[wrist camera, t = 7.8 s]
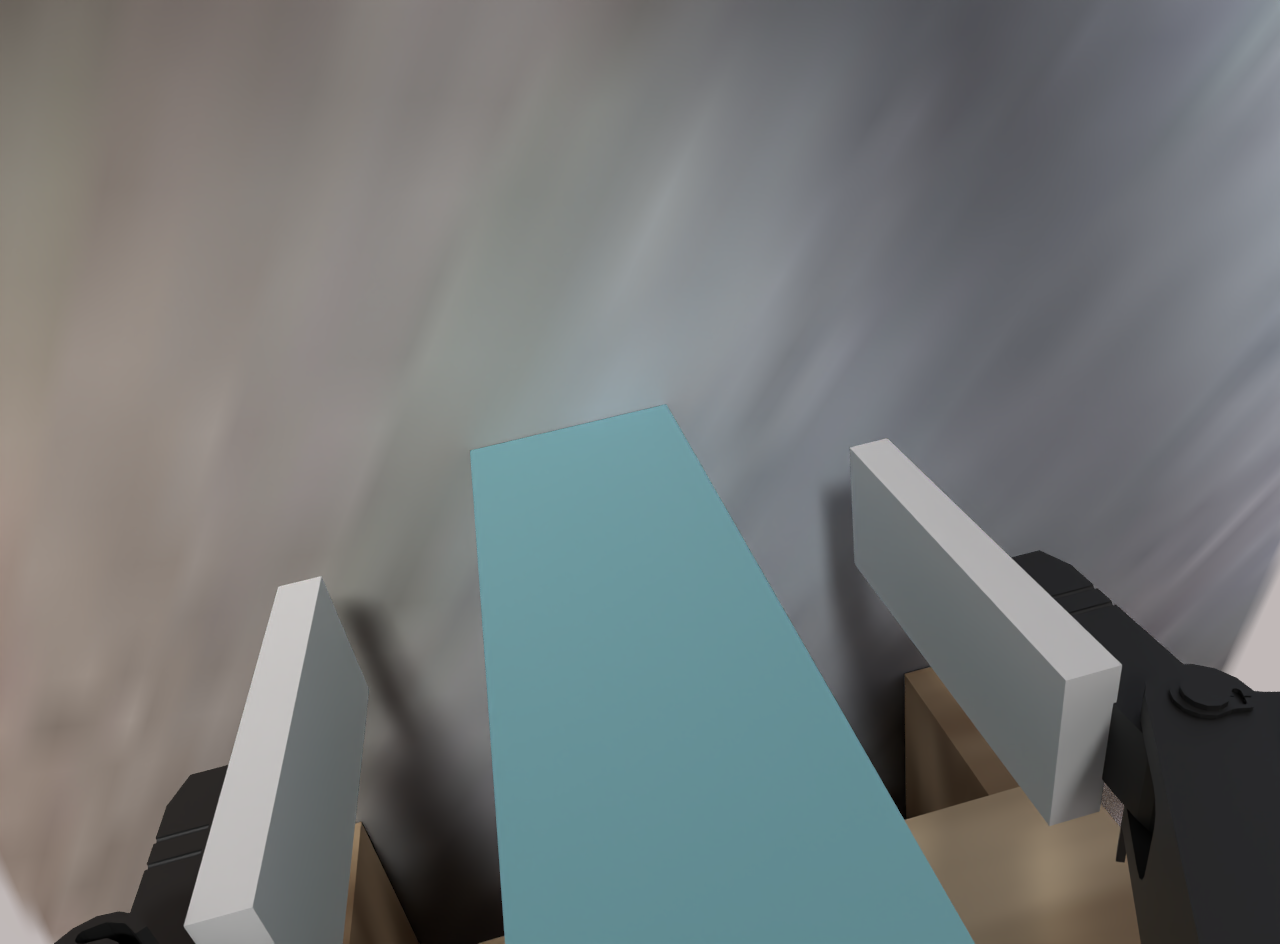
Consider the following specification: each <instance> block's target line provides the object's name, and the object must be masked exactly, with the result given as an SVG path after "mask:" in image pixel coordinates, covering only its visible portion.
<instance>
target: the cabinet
mask: <svg viewBox="0 0 1280 944" xmlns="http://www.w3.org/2000/svg"><path fill="white" fill-rule="evenodd" d="M905 766H906V820H905V822H906V824H907V826H908V827H909V829H910V831H911V833H912V834H913V836H914V838H915V840H916V841H917V843H918V845H919V847H920V848H921V850H922V852H923V854H924V855H925V857H926V859H927V861H928V862H929V864H930V866H931V868H932V869H933V871H934V873H935V875H936V876H937V878H938V880H939V882H940V883H941V885H942V887H943V889H944V890H945V892H946V894H947V896H948V897H949V899H950V901H951V903H952V904H953V906H954V908H955V910H956V911H957V913H958V915H959V917H960V918H961V920H962V922H963V923H964V925H965V927H966V929H967V930H968V932H969V934H970V936H971V937H972V939H973V941H974V943H975V944H1141V941H1140V935H1139V929H1138V923H1137V916H1136V910H1135V904H1134V898H1133V892H1132V886H1131V879H1130V873H1129V867H1128V861H1127V855H1126V857H1125V863H1123V862H1116V852H1117V845H1118V839H1119V833H1120V826H1119V825H1118V824H1117V823H1116V822H1115V820H1114V819H1113V818H1112V817H1111V815H1110V814H1109V813H1108V812H1107V811H1106V809H1105V808H1104V807H1103V806H1102V805H1101V806H1100V811H1099V812H1096V813H1092V814H1089V815H1086V816H1082V817H1079V818H1076V819H1072V820H1069V821H1065V822H1062V823H1059V824H1055V825H1052V826H1049V825H1048V824H1047V822H1046V821H1045V820H1044V818H1043V817H1042V816H1041V814H1040V813H1039V811H1038V810H1037V809H1036V807H1035V806H1034V805H1033V803H1032V802H1031V801H1030V799H1029V798H1028V797H1027V795H1026V794H1025V793H1024V791H1023V790H1022V789H1021V787H1020V786H1019V785H1018V783H1017V782H1016V781H1015V779H1014V778H1013V777H1012V775H1011V774H1010V772H1009V771H1008V770H1007V768H1006V767H1005V766H1004V764H1003V763H1002V762H1001V760H1000V759H999V758H998V756H997V755H996V754H995V752H994V751H993V750H992V748H991V747H990V746H989V744H988V743H987V742H986V740H985V739H984V737H983V736H982V735H981V733H980V732H979V731H978V729H977V728H976V727H975V725H974V724H973V723H972V721H971V720H970V719H969V717H968V716H967V715H966V713H965V712H964V711H963V709H962V708H961V707H960V705H959V704H958V703H957V701H956V700H955V698H954V697H953V696H952V694H951V693H950V692H949V690H948V689H947V688H946V686H945V685H944V684H943V682H942V681H941V680H940V678H939V677H938V676H937V674H936V673H935V672H934V670H933V669H932V668H931V667H928V668H924V669H921V670H917V671H913V672H910V673H906V674H905ZM343 944H419V942H418V940H417V938H416V936H415V934H414V932H413V930H412V928H411V925H410V923H409V921H408V919H407V917H406V915H405V913H404V911H403V909H402V907H401V904H400V902H399V900H398V898H397V896H396V894H395V892H394V890H393V888H392V886H391V883H390V881H389V879H388V877H387V875H386V873H385V871H384V869H383V867H382V865H381V862H380V860H379V858H378V856H377V854H376V852H375V850H374V848H373V846H372V844H371V841H370V839H369V837H368V835H367V833H366V831H365V829H364V827H363V825H362V823H361V822H359V823H355V830H354V839H353V849H352V859H351V868H350V878H349V887H348V897H347V907H346V916H345V926H344V935H343ZM478 944H505V936H502V937H499V938H495V939H492V940H488V941H485V942H482V943H478Z"/></svg>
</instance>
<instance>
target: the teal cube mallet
mask: <svg viewBox="0 0 1280 944" xmlns="http://www.w3.org/2000/svg"><path fill="white" fill-rule="evenodd" d="M470 457H471V471H472V485H473V499H474V513H475V527H476V541H477V555H478V569H479V583H480V598H481V612H482V626H483V640H484V654H485V668H486V682H487V696H488V710H489V724H490V738H491V753H492V767H493V781H494V795H495V809H496V823H497V837H498V851H499V865H500V879H501V893H502V907H503V922H504V936H505V944H975V943H974V941H973V939H972V937H971V936H970V934H969V932H968V930H967V929H966V927H965V925H964V923H963V922H962V920H961V918H960V917H959V915H958V913H957V911H956V910H955V908H954V906H953V904H952V903H951V901H950V899H949V897H948V896H947V894H946V892H945V890H944V889H943V887H942V885H941V883H940V882H939V880H938V878H937V876H936V875H935V873H934V871H933V869H932V868H931V866H930V864H929V862H928V861H927V859H926V857H925V855H924V854H923V852H922V850H921V848H920V847H919V845H918V843H917V841H916V840H915V838H914V836H913V834H912V833H911V831H910V829H909V827H908V826H907V824H906V822H905V820H904V819H903V817H902V815H901V813H900V812H899V810H898V808H897V806H896V805H895V803H894V801H893V799H892V798H891V796H890V794H889V793H888V791H887V789H886V787H885V786H884V784H883V782H882V780H881V779H880V777H879V775H878V773H877V772H876V770H875V768H874V766H873V765H872V763H871V761H870V759H869V758H868V756H867V754H866V752H865V751H864V749H863V747H862V745H861V744H860V742H859V740H858V738H857V737H856V735H855V733H854V731H853V730H852V728H851V726H850V724H849V723H848V721H847V719H846V717H845V716H844V714H843V712H842V710H841V709H840V707H839V705H838V703H837V702H836V700H835V698H834V696H833V695H832V693H831V691H830V689H829V688H828V686H827V684H826V682H825V681H824V679H823V677H822V676H821V674H820V672H819V670H818V669H817V667H816V665H815V663H814V662H813V660H812V658H811V656H810V655H809V653H808V651H807V649H806V648H805V646H804V644H803V642H802V641H801V639H800V637H799V635H798V634H797V632H796V630H795V628H794V627H793V625H792V623H791V621H790V620H789V618H788V616H787V614H786V613H785V611H784V609H783V607H782V606H781V604H780V602H779V600H778V599H777V597H776V595H775V593H774V592H773V590H772V588H771V586H770V585H769V583H768V581H767V579H766V578H765V576H764V574H763V572H762V571H761V569H760V567H759V565H758V564H757V562H756V560H755V558H754V557H753V555H752V553H751V552H750V550H749V548H748V546H747V545H746V543H745V541H744V539H743V538H742V536H741V534H740V532H739V531H738V529H737V527H736V525H735V524H734V522H733V520H732V518H731V517H730V515H729V513H728V511H727V510H726V508H725V506H724V504H723V503H722V501H721V499H720V497H719V496H718V494H717V492H716V490H715V489H714V487H713V485H712V483H711V482H710V480H709V478H708V476H707V475H706V473H705V471H704V469H703V468H702V466H701V464H700V462H699V461H698V459H697V457H696V455H695V454H694V452H693V450H692V448H691V447H690V445H689V443H688V441H687V440H686V438H685V436H684V435H683V433H682V431H681V429H680V428H679V426H678V424H677V422H676V421H675V419H674V417H673V415H672V414H671V412H670V410H669V408H668V407H667V405H661V406H657V407H653V408H649V409H644V410H640V411H636V412H632V413H627V414H623V415H619V416H615V417H610V418H606V419H602V420H598V421H594V422H589V423H585V424H581V425H577V426H572V427H568V428H564V429H560V430H555V431H551V432H547V433H543V434H538V435H534V436H530V437H526V438H522V439H517V440H513V441H509V442H505V443H500V444H496V445H492V446H488V447H483V448H479V449H475V450H471V451H470Z"/></svg>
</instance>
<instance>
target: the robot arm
mask: <svg viewBox="0 0 1280 944" xmlns="http://www.w3.org/2000/svg"><path fill="white" fill-rule="evenodd" d="M849 449H850V472H851V494H852V517H853V539H854V562H855V565H856V567H857V568H858V569H859V571H860V572H861V573H862V575H863V576H864V577H865V579H866V580H867V581H868V583H869V584H870V585H871V587H872V588H873V590H874V591H875V592H876V594H877V595H878V596H879V598H880V599H881V600H882V602H883V603H884V604H885V606H886V607H887V608H888V610H889V611H890V612H891V614H892V615H893V616H894V618H895V619H896V620H897V622H898V623H899V624H900V626H901V627H902V629H903V630H904V631H905V633H906V634H907V635H908V637H909V638H910V639H911V641H912V642H913V643H914V645H915V646H916V647H917V649H918V650H919V651H920V653H921V654H922V655H923V657H924V658H925V659H926V661H927V662H928V663H929V665H930V666H931V668H932V669H933V670H934V672H935V673H936V674H937V676H938V677H939V678H940V680H941V681H942V682H943V684H944V685H945V686H946V688H947V689H948V690H949V692H950V693H951V694H952V696H953V697H954V698H955V700H956V701H957V703H958V704H959V705H960V707H961V708H962V709H963V711H964V712H965V713H966V715H967V716H968V717H969V719H970V720H971V721H972V723H973V724H974V725H975V727H976V728H977V729H978V731H979V732H980V733H981V735H982V736H983V737H984V739H985V740H986V742H987V743H988V744H989V746H990V747H991V748H992V750H993V751H994V752H995V754H996V755H997V756H998V758H999V759H1000V760H1001V762H1002V763H1003V764H1004V766H1005V767H1006V768H1007V770H1008V771H1009V772H1010V774H1011V775H1012V777H1013V778H1014V779H1015V781H1016V782H1017V783H1018V785H1019V786H1020V787H1021V789H1022V790H1023V791H1024V793H1025V794H1026V795H1027V797H1028V798H1029V799H1030V801H1031V802H1032V803H1033V805H1034V806H1035V807H1036V809H1037V810H1038V811H1039V813H1040V814H1041V816H1042V817H1043V818H1044V820H1045V821H1046V822H1047V824H1048V825H1049V826H1052V825H1055V824H1059V823H1062V822H1065V821H1069V820H1072V819H1076V818H1079V817H1082V816H1086V815H1089V814H1092V813H1096V812H1099V811H1100V806H1101V799H1102V793H1103V786H1104V782H1105V783H1106V785H1107V786H1108V787H1109V788H1110V789H1111V790H1112V792H1113V793H1114V794H1115V795H1116V796H1117V797H1118V799H1119V800H1120V801H1121V802H1122V803H1123V804H1124V810H1123V816H1122V822H1121V828H1120V833H1119V839H1118V845H1117V852H1116V862H1123V863H1125V857H1126V855H1127V861H1128V867H1129V873H1130V879H1131V886H1132V892H1133V898H1134V904H1135V910H1136V916H1137V923H1138V929H1139V935H1140V941H1141V944H1280V692H1259V691H1253V690H1252V689H1251V688H1249V687H1248V686H1246V685H1245V684H1244V683H1242V682H1241V681H1240V680H1239V679H1237V678H1236V677H1233V676H1231V675H1229V674H1226V673H1224V672H1222V671H1219V670H1217V669H1214V668H1209V667H1204V666H1199V665H1194V664H1182V663H1181V662H1180V661H1179V660H1178V659H1177V658H1175V657H1174V656H1173V655H1172V654H1171V653H1170V652H1169V651H1168V650H1166V649H1165V648H1164V647H1163V646H1162V645H1161V644H1160V643H1158V642H1157V641H1156V640H1155V639H1154V638H1153V637H1152V636H1151V635H1149V634H1148V633H1147V632H1146V631H1145V630H1144V629H1143V628H1142V627H1140V626H1139V625H1138V624H1137V623H1136V622H1135V621H1134V620H1132V619H1131V618H1130V617H1129V616H1128V615H1127V614H1126V613H1125V612H1123V611H1122V610H1121V609H1120V608H1119V607H1118V606H1117V605H1114V606H1113V605H1112V602H1111V600H1110V599H1109V598H1108V597H1107V596H1105V595H1104V594H1103V593H1102V592H1101V591H1100V590H1099V589H1094V587H1093V584H1092V583H1091V582H1090V581H1088V580H1087V579H1086V578H1085V577H1084V576H1083V575H1082V574H1081V573H1079V572H1078V571H1077V570H1076V569H1075V568H1074V567H1073V566H1071V565H1070V564H1068V563H1066V562H1063V561H1061V560H1059V559H1057V558H1055V557H1053V556H1050V555H1048V554H1046V553H1044V552H1042V551H1040V550H1039V551H1035V552H1031V553H1028V554H1024V555H1020V556H1016V557H1012V558H1011V557H1010V556H1009V555H1008V554H1007V553H1006V552H1005V551H1004V550H1003V549H1002V548H1001V547H999V546H998V545H997V544H996V543H995V542H994V541H993V540H992V539H991V538H990V537H989V536H988V535H987V534H986V533H985V532H984V531H983V530H982V529H981V528H980V527H979V526H978V525H977V524H976V523H975V522H974V521H973V520H972V519H970V518H969V517H968V516H967V515H966V514H965V513H964V512H963V511H962V510H961V509H960V508H959V507H958V506H957V505H956V504H955V503H954V502H953V501H952V500H951V499H950V498H949V497H948V496H947V495H946V494H945V493H944V492H943V491H941V490H940V489H939V488H938V487H937V486H936V485H935V484H934V483H933V482H932V481H931V480H930V479H929V478H928V477H927V476H926V475H925V474H924V473H923V472H922V471H921V470H920V469H919V468H918V467H917V466H916V465H915V464H914V463H912V462H911V461H910V460H909V459H908V458H907V457H906V456H905V455H904V454H903V453H902V452H901V451H900V450H899V449H898V448H897V447H896V446H895V445H894V444H893V443H892V442H891V441H890V440H889V439H888V438H886V439H882V440H878V441H874V442H870V443H866V444H861V445H857V446H853V447H849ZM368 695H369V688H368V685H367V683H366V681H365V678H364V676H363V673H362V671H361V669H360V666H359V664H358V662H357V659H356V657H355V655H354V652H353V650H352V647H351V645H350V643H349V640H348V638H347V636H346V633H345V631H344V628H343V626H342V624H341V621H340V619H339V617H338V614H337V612H336V609H335V607H334V605H333V602H332V600H331V598H330V595H329V593H328V591H327V588H326V586H325V583H324V581H323V579H322V576H320V577H316V578H312V579H308V580H304V581H300V582H295V583H291V584H287V585H283V586H279V587H278V590H277V593H276V597H275V600H274V604H273V608H272V611H271V615H270V618H269V622H268V625H267V629H266V633H265V636H264V640H263V643H262V647H261V651H260V654H259V658H258V661H257V665H256V668H255V672H254V676H253V679H252V683H251V686H250V690H249V694H248V697H247V701H246V704H245V708H244V711H243V715H242V719H241V722H240V726H239V729H238V733H237V737H236V740H235V744H234V747H233V751H232V754H231V758H230V762H229V765H226V766H223V767H219V768H215V769H211V770H207V771H204V772H200V773H196V774H192V775H190V776H189V777H188V779H187V780H186V781H185V783H184V784H183V785H182V787H181V788H180V789H179V791H178V792H177V793H176V795H175V796H174V797H173V799H172V800H171V801H170V803H169V804H168V805H167V807H166V810H165V813H164V816H163V819H162V822H161V824H160V827H159V830H158V833H157V836H156V839H157V843H156V844H154V845H153V848H152V851H151V854H150V857H149V860H148V862H147V865H148V870H145V871H144V874H143V877H142V880H141V883H140V886H139V889H138V892H137V895H136V898H135V900H134V903H133V906H132V909H131V912H130V913H125V912H120V911H119V912H115V913H110V914H105V915H101V916H97V917H95V918H93V919H91V920H89V921H87V922H85V923H83V924H81V925H79V926H77V927H75V928H73V929H72V930H70V931H69V932H68V933H67V934H65V935H64V936H63V937H62V938H60V939H59V940H58V941H57V942H55V943H54V944H343V935H344V926H345V916H346V907H347V897H348V887H349V878H350V868H351V859H352V849H353V839H354V830H355V820H356V811H357V801H358V791H359V782H360V772H361V763H362V753H363V743H364V734H365V724H366V714H367V705H368Z"/></svg>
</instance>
